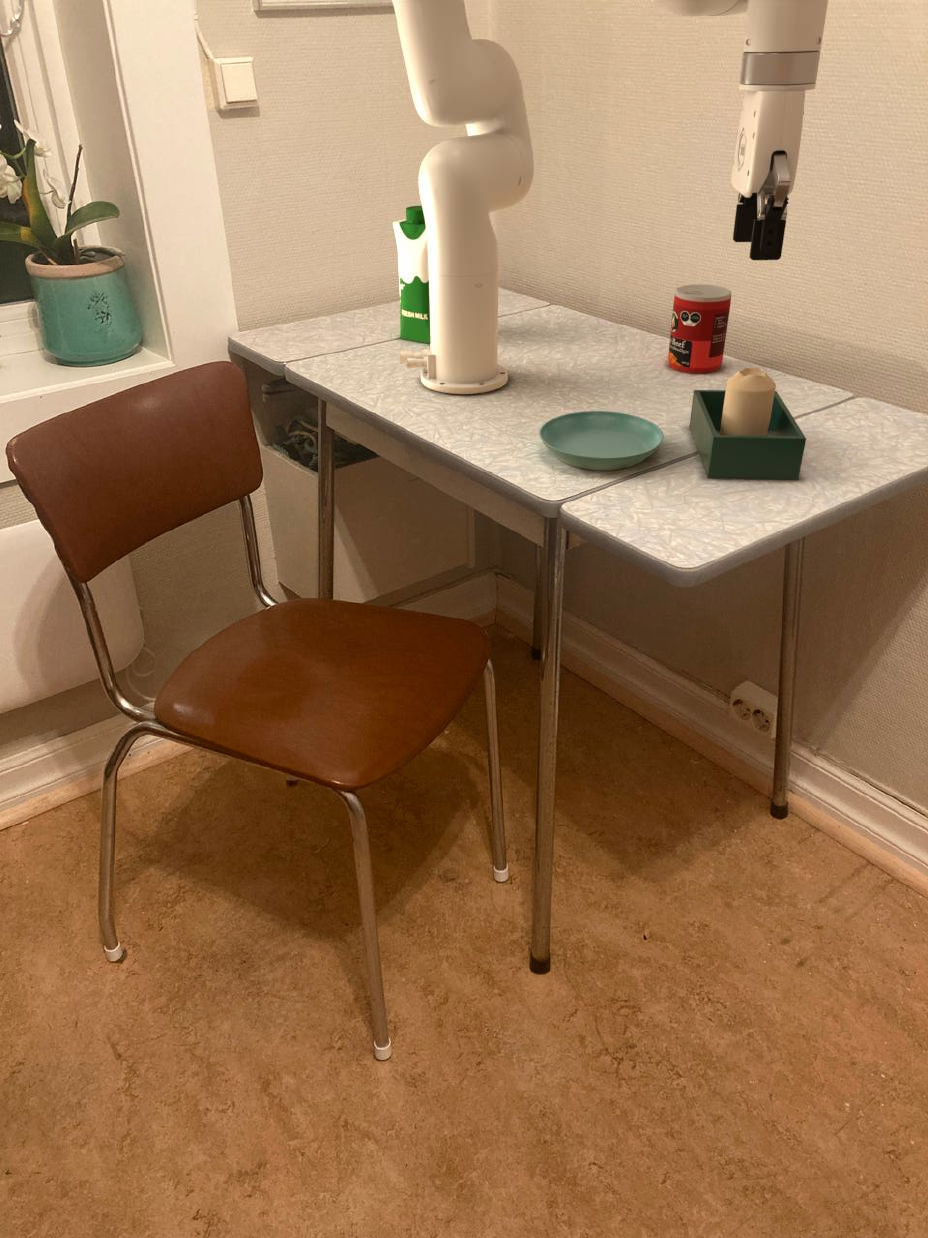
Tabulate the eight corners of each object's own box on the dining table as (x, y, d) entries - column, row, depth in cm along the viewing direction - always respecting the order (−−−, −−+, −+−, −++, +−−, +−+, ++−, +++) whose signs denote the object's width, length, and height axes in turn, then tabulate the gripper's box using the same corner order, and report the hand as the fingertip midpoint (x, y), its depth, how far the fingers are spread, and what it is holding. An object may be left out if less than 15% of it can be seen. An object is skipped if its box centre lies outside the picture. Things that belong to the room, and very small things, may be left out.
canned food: (661, 358, 147) (669, 284, 141) (712, 357, 147) (722, 283, 141) (675, 375, 140) (683, 298, 134) (728, 373, 141) (739, 296, 135)
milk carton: (392, 339, 157) (386, 207, 146) (423, 325, 163) (420, 198, 152) (437, 347, 153) (434, 212, 142) (467, 333, 159) (466, 203, 148)
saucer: (537, 429, 123) (537, 409, 121) (653, 430, 122) (655, 410, 121) (540, 477, 110) (540, 456, 109) (669, 478, 110) (671, 457, 108)
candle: (765, 462, 113) (779, 379, 108) (717, 459, 114) (729, 377, 109) (762, 444, 118) (776, 364, 112) (716, 441, 119) (728, 362, 113)
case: (707, 478, 110) (713, 436, 107) (689, 427, 123) (693, 389, 120) (798, 479, 109) (806, 438, 106) (770, 428, 122) (776, 390, 120)
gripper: (726, 69, 105) (708, 235, 114) (758, 78, 90) (735, 267, 99) (796, 68, 105) (772, 234, 114) (839, 76, 90) (809, 266, 99)
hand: (755, 250), depth 106 cm, fingers open, 9 cm apart
